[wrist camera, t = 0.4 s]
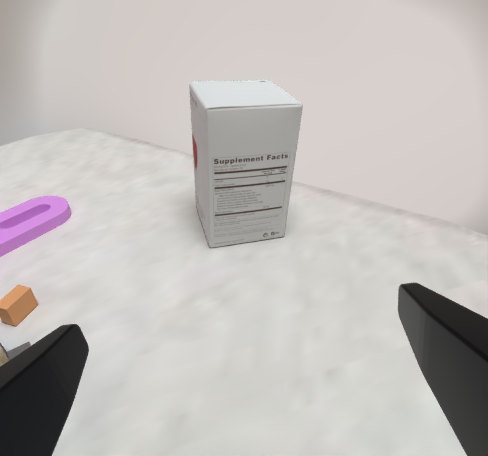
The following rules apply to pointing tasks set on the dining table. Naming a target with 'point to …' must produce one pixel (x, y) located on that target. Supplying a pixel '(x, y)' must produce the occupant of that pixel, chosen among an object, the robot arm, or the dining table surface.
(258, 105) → the supplement box
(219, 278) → the dining table surface
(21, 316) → the orange rectangular block
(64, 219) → the bracket
